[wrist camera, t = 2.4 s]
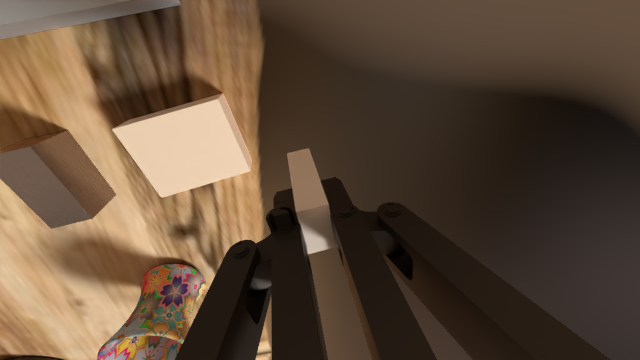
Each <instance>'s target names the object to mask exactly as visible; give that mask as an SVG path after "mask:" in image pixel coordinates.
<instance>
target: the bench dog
mask: <svg viewBox="0 0 640 360" xmlns="http://www.w3.org/2000/svg"><path fill="white" fill-rule="evenodd" d="M0 179H1V180H2V181H4V182H5V183H6V184H7V185H8V186H9V187H10V188H11V189H12V190H13V191H14V192H15V193H16V194H17V195H18V196H19V197H20V198H21V199H22V200H23V201H24V202H25V203H26V204H27V205H28V206H29V207H30V208H31V209H32V210H33V211H34V212H35V213H36V214H37V215H38V216H39V217H40V218H41V219H42V220H43V221H44V222H45V223H46V224H47V225H48V226H49V227H50V228H51V229H52V228H56V227H60V226H64V225H68V224H72V223H76V222H80V221H84V220H88V219H92V218H93V217H94V216H95V215H96V214H97V213H98V212H99V211H100V210H101V209H102V208H103V207H104V206H105V205H106V204H107V203H108V202H109V201H110V200H111V199H112V198H113V197H114V196H115V195H116V194H115V192H114V191H113V190H112V188H111V187H110V186H109V184H108V183H107V182H106V180H105V179H104V178H103V176H102V175H101V174H100V172H99V171H98V170H97V168H96V167H95V166H94V164H93V163H92V162H91V160H90V159H89V158H88V156H87V155H86V154H85V152H84V151H83V150H82V148H81V147H80V146H79V144H78V143H77V142H76V140H75V139H74V138H73V136H72V135H71V134H70V132H69V131H68V130H67V131H62V132H58V133H53V134H49V135H44V136H39V137H35V138H30V139H26V140H23V141H21V142H18V143H16V144H13V145H11V146H8V147H6V148H3V149H1V150H0Z"/></svg>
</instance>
